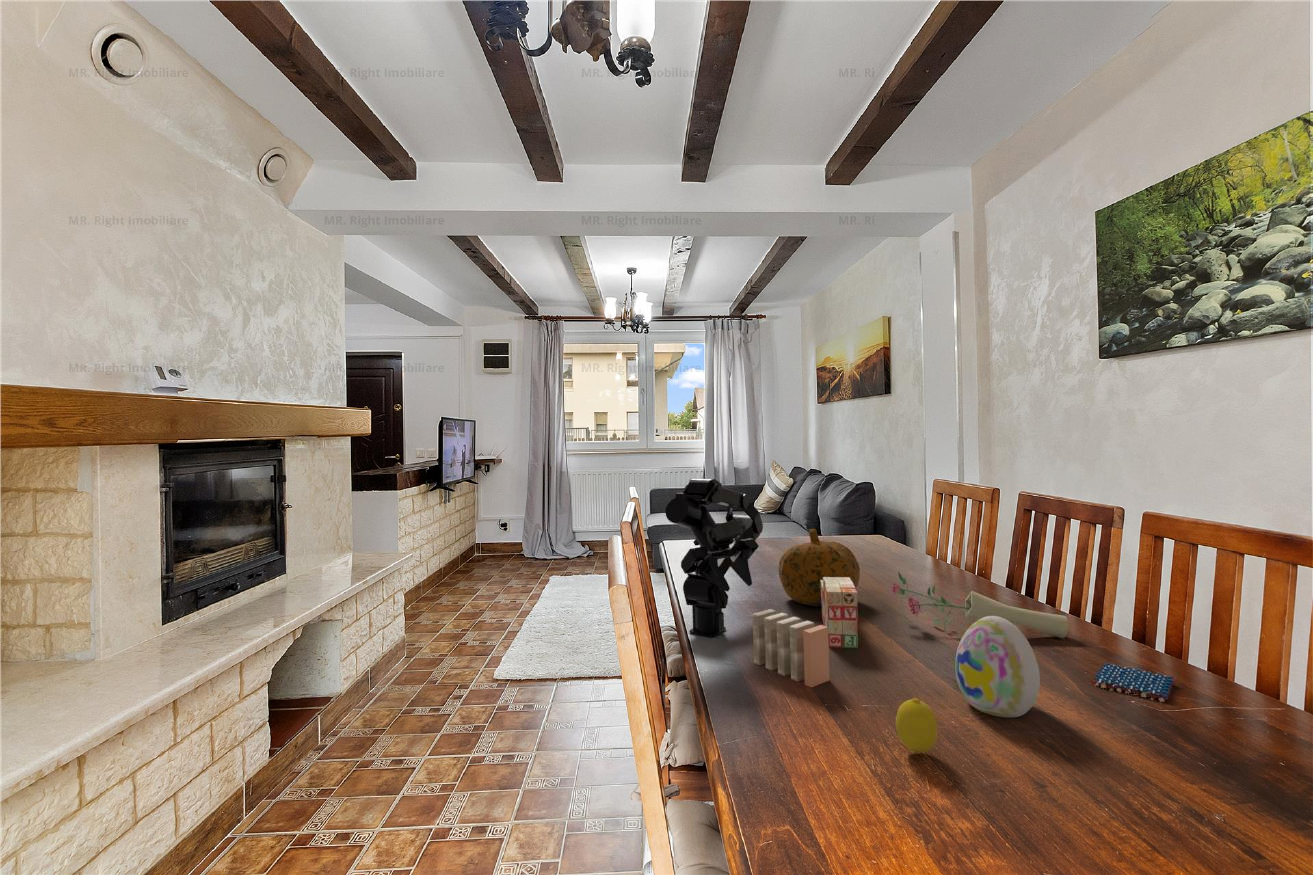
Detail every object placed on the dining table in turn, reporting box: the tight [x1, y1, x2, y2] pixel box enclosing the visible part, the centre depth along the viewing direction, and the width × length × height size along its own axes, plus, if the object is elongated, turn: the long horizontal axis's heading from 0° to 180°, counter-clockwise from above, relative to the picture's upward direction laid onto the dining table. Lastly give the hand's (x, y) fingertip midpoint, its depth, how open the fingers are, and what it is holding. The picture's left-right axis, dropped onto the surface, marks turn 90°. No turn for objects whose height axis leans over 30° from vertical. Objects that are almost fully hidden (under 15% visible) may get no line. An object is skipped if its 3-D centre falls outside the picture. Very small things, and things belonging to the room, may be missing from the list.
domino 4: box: [790, 620, 815, 683], centre depth 115 cm, size 2×5×10 cm, turn 125°
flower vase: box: [891, 571, 1069, 640], centre depth 136 cm, size 12×12×35 cm
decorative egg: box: [954, 616, 1041, 718], centre depth 101 cm, size 12×12×15 cm
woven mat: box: [1091, 662, 1175, 703], centre depth 107 cm, size 10×11×2 cm
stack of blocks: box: [820, 577, 859, 649], centre depth 139 cm, size 21×6×12 cm, turn 169°
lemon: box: [895, 697, 939, 755], centre depth 87 cm, size 6×6×8 cm
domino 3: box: [777, 616, 802, 677], centre depth 117 cm, size 2×5×10 cm, turn 125°
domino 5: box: [803, 624, 830, 688], centre depth 112 cm, size 2×5×10 cm, turn 125°
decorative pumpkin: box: [778, 528, 861, 607], centre depth 163 cm, size 20×21×20 cm
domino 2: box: [764, 612, 789, 672], centre depth 120 cm, size 2×5×10 cm, turn 125°
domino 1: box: [752, 608, 777, 666], centre depth 123 cm, size 2×5×10 cm, turn 125°
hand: (739, 587), depth 128 cm, fingers open, 6 cm apart
